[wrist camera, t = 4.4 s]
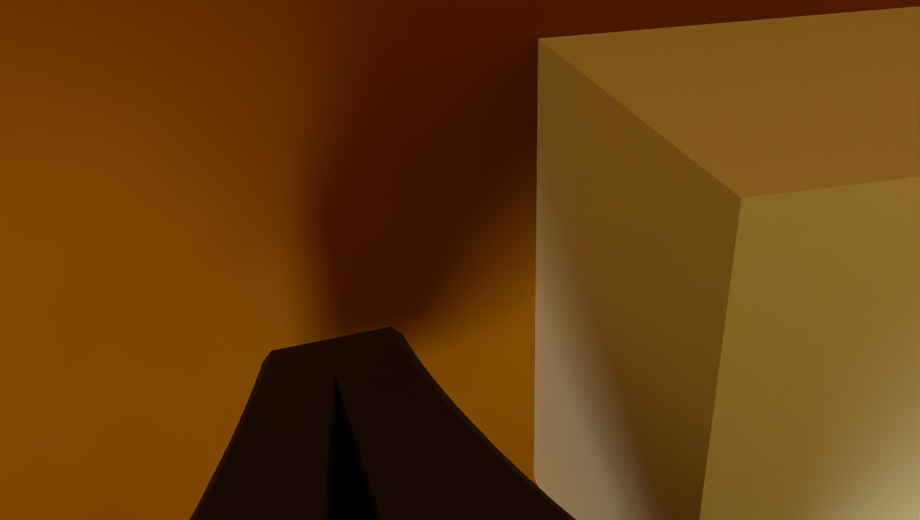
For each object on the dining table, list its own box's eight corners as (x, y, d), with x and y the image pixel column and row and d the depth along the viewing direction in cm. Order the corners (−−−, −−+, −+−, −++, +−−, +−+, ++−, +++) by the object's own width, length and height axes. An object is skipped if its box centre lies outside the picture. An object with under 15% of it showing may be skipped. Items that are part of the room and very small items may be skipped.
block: (971, 392, 13) (1277, 637, 9) (531, 468, 12) (664, 787, 8) (1094, -12, 10) (1610, 91, 6) (534, 34, 9) (741, 199, 5)
